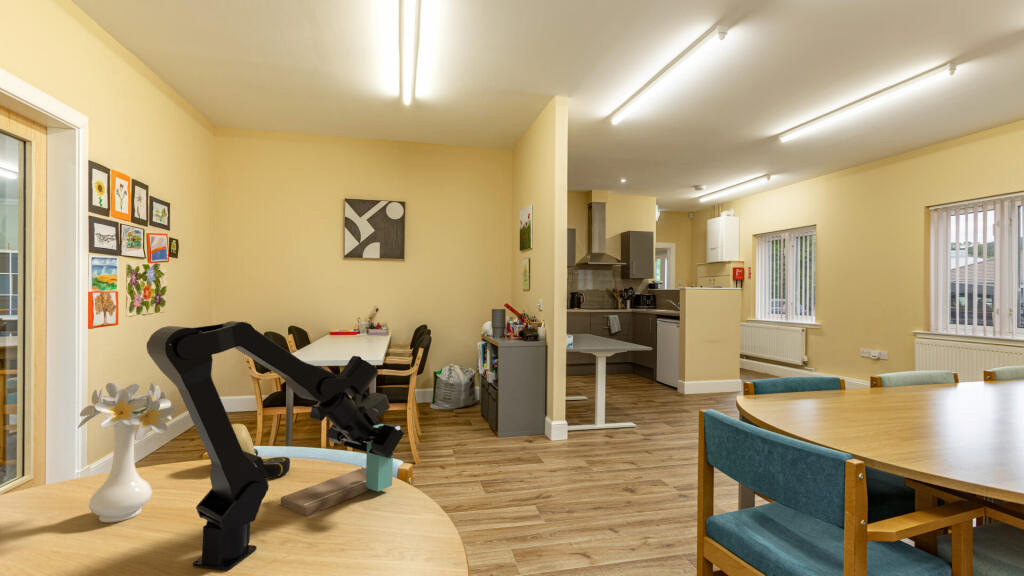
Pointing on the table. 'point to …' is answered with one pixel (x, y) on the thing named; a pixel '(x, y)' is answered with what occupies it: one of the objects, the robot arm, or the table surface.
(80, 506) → the table surface
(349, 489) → the board
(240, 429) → the toy pig
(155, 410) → the flower vase
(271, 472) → the tape measure
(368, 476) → the teal rectangular block
